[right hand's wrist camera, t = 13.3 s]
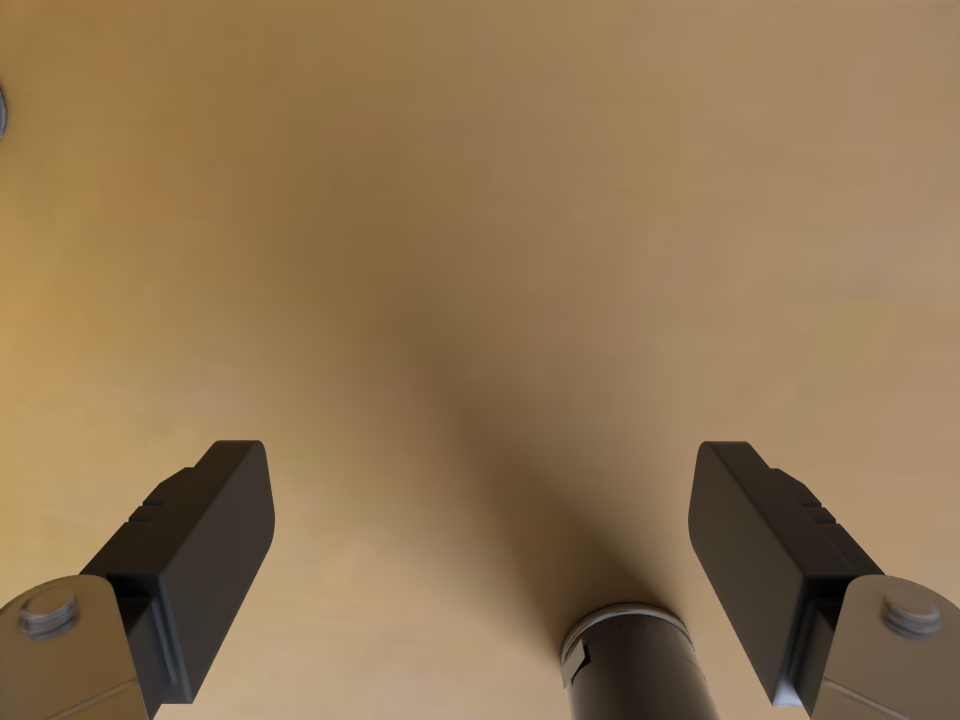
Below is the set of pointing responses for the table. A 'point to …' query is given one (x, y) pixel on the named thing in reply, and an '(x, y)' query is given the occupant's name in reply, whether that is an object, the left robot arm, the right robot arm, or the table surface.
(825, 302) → the table surface
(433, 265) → the table surface
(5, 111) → the grey chess piece
